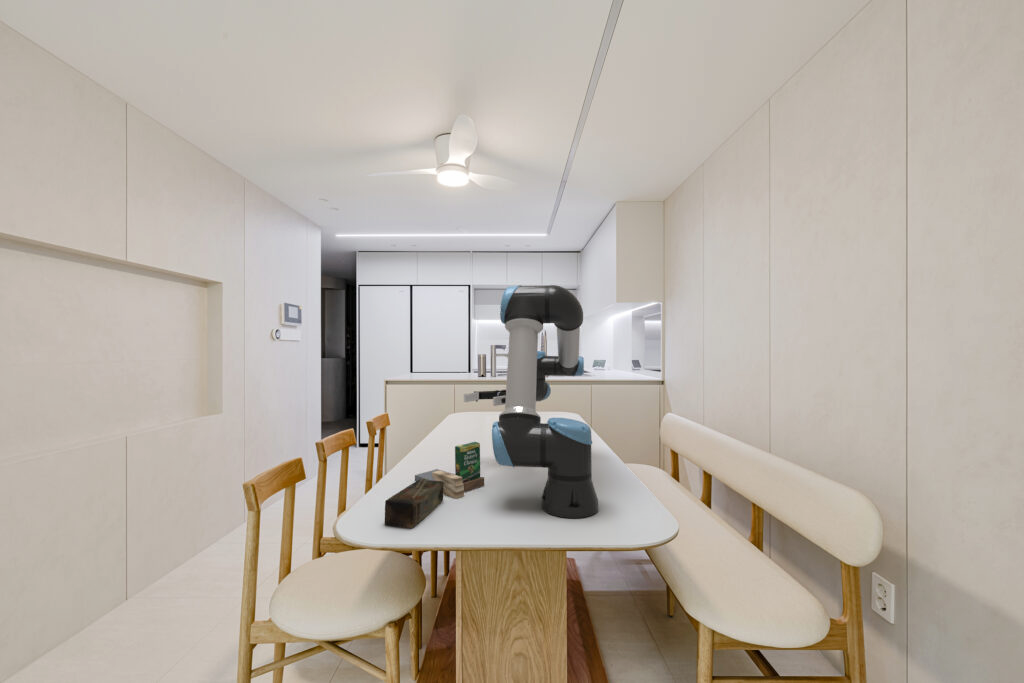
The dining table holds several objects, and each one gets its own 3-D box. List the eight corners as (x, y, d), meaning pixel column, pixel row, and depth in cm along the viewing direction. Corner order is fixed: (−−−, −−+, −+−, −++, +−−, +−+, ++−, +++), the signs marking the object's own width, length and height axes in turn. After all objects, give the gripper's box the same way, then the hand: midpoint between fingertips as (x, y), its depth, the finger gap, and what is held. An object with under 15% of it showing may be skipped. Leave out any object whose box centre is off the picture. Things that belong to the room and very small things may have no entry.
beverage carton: (445, 502, 120) (445, 478, 120) (413, 530, 102) (413, 502, 102) (418, 499, 122) (418, 476, 122) (382, 527, 104) (382, 499, 104)
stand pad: (455, 480, 139) (455, 474, 139) (432, 487, 132) (432, 480, 132) (436, 475, 145) (436, 469, 145) (414, 481, 138) (414, 475, 138)
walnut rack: (484, 485, 134) (484, 477, 134) (465, 492, 128) (465, 483, 128) (470, 481, 138) (470, 473, 138) (451, 487, 132) (451, 479, 132)
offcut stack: (464, 496, 124) (464, 477, 124) (456, 498, 122) (456, 479, 122) (439, 487, 132) (439, 470, 132) (431, 490, 129) (431, 472, 129)
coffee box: (459, 491, 129) (460, 446, 129) (454, 488, 131) (454, 445, 131) (481, 485, 134) (481, 442, 134) (475, 482, 136) (475, 441, 137)
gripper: (547, 407, 151) (507, 415, 135) (494, 401, 167) (453, 407, 151) (547, 386, 151) (507, 391, 135) (494, 381, 167) (453, 385, 151)
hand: (478, 399), depth 143 cm, fingers open, 13 cm apart
